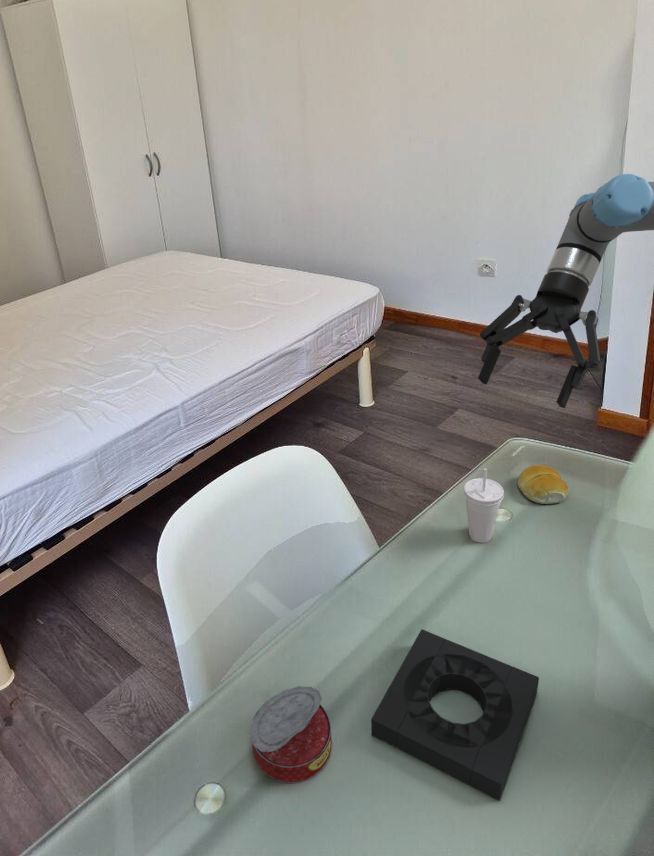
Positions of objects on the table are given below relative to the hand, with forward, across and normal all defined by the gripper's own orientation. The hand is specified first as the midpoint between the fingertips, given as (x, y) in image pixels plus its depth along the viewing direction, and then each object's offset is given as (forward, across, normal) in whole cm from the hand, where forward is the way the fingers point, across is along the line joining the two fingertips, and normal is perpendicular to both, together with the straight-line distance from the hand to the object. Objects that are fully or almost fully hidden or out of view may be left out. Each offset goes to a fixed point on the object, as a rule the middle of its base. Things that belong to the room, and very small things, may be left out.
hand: (519, 393), depth 114 cm
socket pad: (+46, -14, +14) cm, 50 cm away
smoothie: (+24, 0, -8) cm, 25 cm away
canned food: (+58, -1, +26) cm, 64 cm away
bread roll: (+11, -3, -21) cm, 24 cm away
